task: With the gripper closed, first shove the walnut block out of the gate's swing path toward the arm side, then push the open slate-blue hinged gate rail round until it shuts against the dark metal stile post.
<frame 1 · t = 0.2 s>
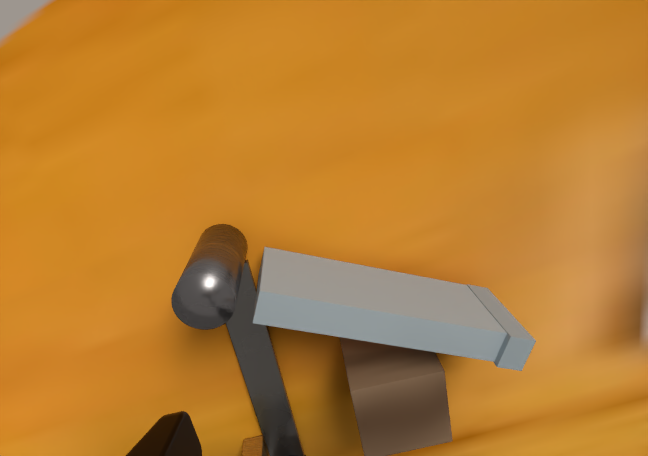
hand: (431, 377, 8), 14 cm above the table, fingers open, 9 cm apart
walnut block: (383, 358, 25), on the table
gate: (386, 305, 20), point 3 cm above the table, hinge at 65.0°
gate posts: (223, 246, 21), on the table
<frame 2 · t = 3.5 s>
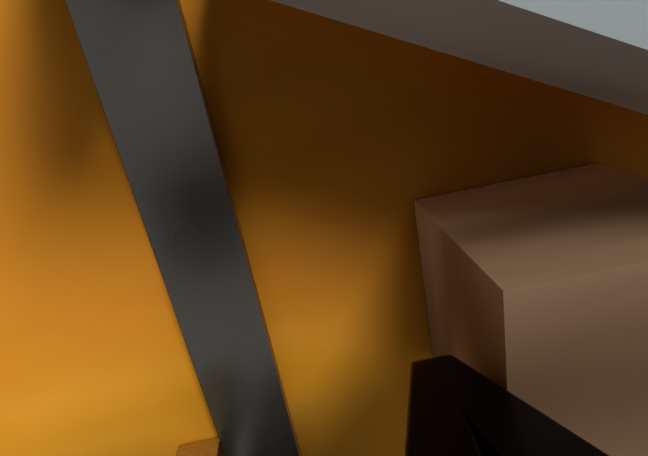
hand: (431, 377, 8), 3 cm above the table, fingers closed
walnut block: (508, 265, 11), on the table, touching gripper
gate: (594, 13, 6), point 3 cm above the table, hinge at 65.0°
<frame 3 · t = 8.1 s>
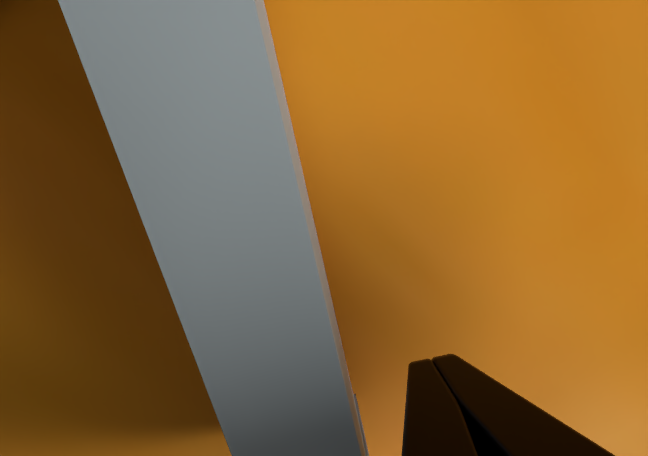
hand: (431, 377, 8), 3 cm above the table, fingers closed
gate: (272, 270, 7), point 3 cm above the table, hinge at 65.7°, touching gripper
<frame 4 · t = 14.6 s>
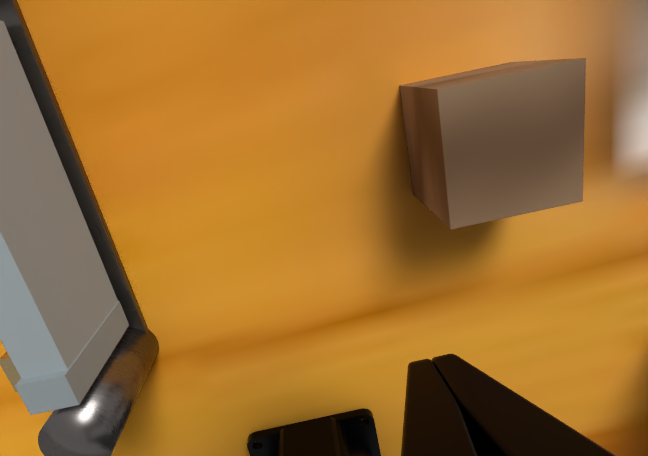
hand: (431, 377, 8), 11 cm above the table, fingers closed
walnut block: (459, 130, 18), on the table
gate: (17, 216, 14), point 3 cm above the table, hinge at -0.4°
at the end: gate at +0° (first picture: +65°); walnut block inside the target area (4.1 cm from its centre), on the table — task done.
